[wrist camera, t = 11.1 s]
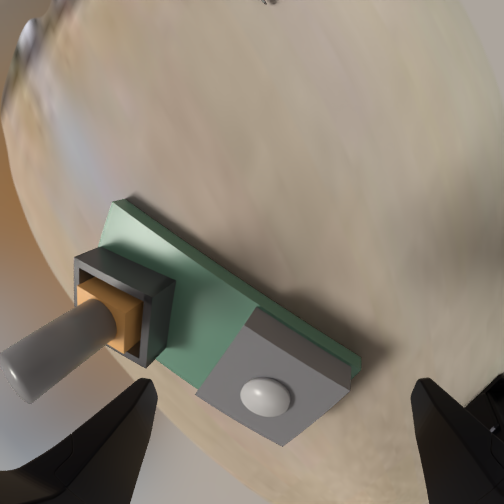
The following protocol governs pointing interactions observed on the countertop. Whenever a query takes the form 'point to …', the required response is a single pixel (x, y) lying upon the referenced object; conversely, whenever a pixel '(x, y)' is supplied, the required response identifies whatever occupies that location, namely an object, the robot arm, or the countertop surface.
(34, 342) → the plug
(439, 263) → the countertop surface
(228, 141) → the countertop surface
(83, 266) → the frame
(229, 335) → the board
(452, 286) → the countertop surface
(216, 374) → the grey button box
